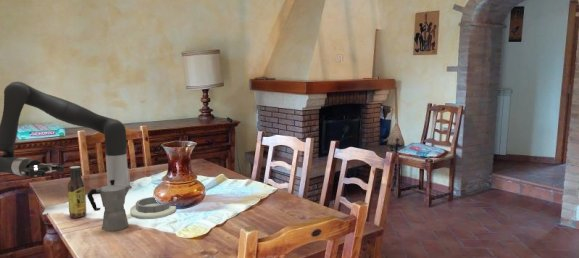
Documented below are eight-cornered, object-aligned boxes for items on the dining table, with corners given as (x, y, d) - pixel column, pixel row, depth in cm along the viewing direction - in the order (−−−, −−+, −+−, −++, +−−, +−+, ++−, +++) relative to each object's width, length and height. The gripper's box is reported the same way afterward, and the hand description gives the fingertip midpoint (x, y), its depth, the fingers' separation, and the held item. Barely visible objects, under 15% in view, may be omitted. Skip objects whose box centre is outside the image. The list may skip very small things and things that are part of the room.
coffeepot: (130, 219, 177) (127, 174, 174) (136, 227, 169) (133, 180, 166) (87, 227, 169) (84, 180, 166) (92, 235, 161) (88, 186, 158)
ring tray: (150, 201, 198) (150, 193, 198) (184, 207, 191) (184, 198, 190) (120, 215, 182) (119, 205, 181) (156, 221, 175) (155, 211, 174)
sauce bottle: (80, 219, 178) (76, 169, 175) (66, 217, 179) (61, 168, 176) (90, 213, 184) (86, 165, 181) (76, 212, 185) (72, 164, 182)
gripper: (9, 161, 182) (37, 166, 176) (41, 155, 195) (68, 159, 189) (10, 180, 184) (39, 184, 177) (42, 172, 197) (69, 176, 190)
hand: (54, 171), depth 183 cm, fingers open, 8 cm apart
